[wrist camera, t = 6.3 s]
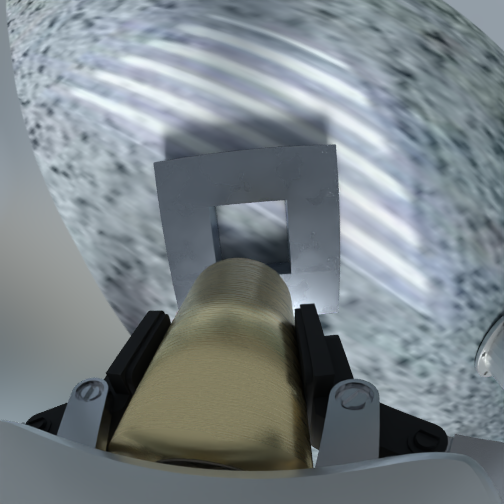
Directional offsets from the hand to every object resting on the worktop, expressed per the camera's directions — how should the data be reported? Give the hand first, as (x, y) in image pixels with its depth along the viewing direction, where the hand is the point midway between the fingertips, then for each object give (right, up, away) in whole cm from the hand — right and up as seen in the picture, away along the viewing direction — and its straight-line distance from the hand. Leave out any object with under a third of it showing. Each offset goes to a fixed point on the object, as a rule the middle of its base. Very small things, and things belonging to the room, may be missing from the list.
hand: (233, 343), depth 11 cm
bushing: (0, +1, +3) cm, 3 cm away
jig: (+1, +5, +16) cm, 17 cm away
